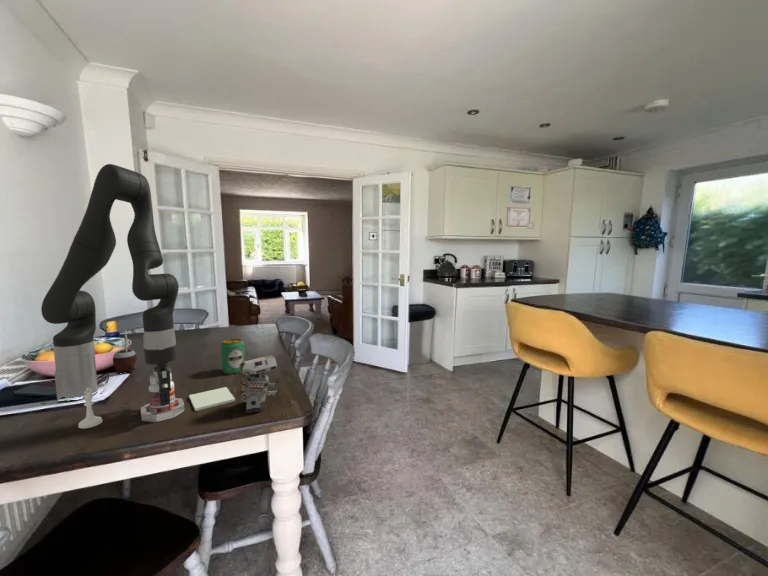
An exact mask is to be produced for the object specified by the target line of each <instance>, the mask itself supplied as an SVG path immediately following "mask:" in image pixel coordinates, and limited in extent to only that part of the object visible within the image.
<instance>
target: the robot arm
mask: <svg viewBox="0 0 768 576" xmlns="http://www.w3.org/2000/svg"><path fill="white" fill-rule="evenodd" d="M115 201H121V202H125V203H129V204H130V205H131V207H132V210H133V213H134V217H133V221H132V222H131V223H132V224H131V226H130V227H129V230H128V232H127V237H126V238H127V239H126V243H127V247H128V251H129V254H130V257H131V261H132V284H131V289H132V290H131V291H132V293H133V295H134V296H135V298H137V299H138V300H139V301H142V302H143V301H146V302H147V301H154V300H155V301H156V300H159V301H158V303H157V305H155V306H152V307H150V308H147V309H146V310H144V311H143V312H142V325H143V326H142V327H143V336H142V337H143V339H142V340H143V341H142V342H143V343H142V344H143V352H144V353H143V355H144V356H143V357H144V362H145V364H146V365H150V366H151V365H154V367H152V373H153V374H154V376H155V378H156V385H157V386H159V393H160V404H161V406H164V405H169V404H170V391H171V386H170V383H171V381H172V380H171V376H170V373H171V374H172V371H171V370H172V369H171V366H170V364H168V363H171V362H173V361H175V360H176V359H177V346H176V345H177V343H176V341H177V340H176V332H175V328H174V327H175V326H174V310H175V305H176V301H177V297H178V295H179V286H180V285H179V282H178V280H177V279H178V278H176V277H175V276H174V275H173V274H171V273H156V274H155V273H154V274H153V273H152V274H151V273H150V274H149V270H154V269H157V268H159V267H160V266H162V265H163V263H164V258H163V255H162V251H161V248H160V244H159V242H158V239H157V238H158V237H157V234H156V229H155V221H154V212H153V210H154V209H153V203H152V202H153V201H152V193H151V185H150V183H149V180H148V179H147V178H146V176H145V175H143V174H142V173H139V172H137V171H134V170H132V169H128V168H126V167H123V166H119V165H116V164H113V163H112V164H111V163H108V164H105V165H102V167H101V168H100V169H99V171H98V173H97V175H96V177H95V179H94V183H93V187H92V191H91V194H90V197H89V201H88V204H87V207H86V209H85V213H84V215H83V218H82V220H81V222H80V225H79V227H78V229H77V231H76V234H74V237H73V239H72V242H71V244H70V247H69V249H68V252H67V255H66V257H65V260H64V261H63V264H62V266H61V268H60V270H59V272H58V274H57V276H56V278H55V279H54V281H53V283H52V285H51V286H50V288H49V290H48V291H47V292H46V295H45V297H44V298H43V300H42V302H41V309H40V312H41V316H42V318H43V319H44V320H45V321H46V322H48V323H49V324H52V325H53V324H55V325H60V324H66V323H67V324H66V326H65V327H64V328H63V329H62V330H61V331H59V332H58V333H56V334H55V335H54V336H53V337H52V345H53V346H52V347H53V355H54V365H55V370H54V380H55V393H56V400H57V399H60V398H62V397H65V398H74V397H81V396H84V395H86V394H87V393H84V392H85V391H86V388H89V389H91V391H90V393H91V394H92V393H94V392H96V391H97V390H98V389H99V388H98V387H99V385H98V376H97V364H96V354H95V353H96V352H95V339H94V335H95V332H96V328H97V326H96V324H97V323H96V322H97V320H96V319H97V318H96V317H97V316H96V311H97V310H96V303H95V301H94V298H93V296H92V295H91V294H90V293H89V292H88V291H85V290H81V289H82V287H83V286H84V285H85V284H86V283H87V282H88V281H90V280H91V279H92V278H94V276H96V275H97V274H98V273H99V272H101V270H103V269H104V268H105V267H106V266H107V264H108V263H109V261H110V259H111V257H112V256H113V253H114V250H115V248H116V245H117V240H116V239H117V237H116V234H115V231H114V228H113V225H112V222H111V211H112V208H113V205H114V203H115ZM158 378H159V381H158ZM164 384H167V388H162V385H164ZM98 391H99V390H98Z"/></svg>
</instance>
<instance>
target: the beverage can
mask: <svg viewBox="0 0 768 576" xmlns="http://www.w3.org/2000/svg"><path fill="white" fill-rule="evenodd" d="M220 346H221V349H220V350H221V370H222V372H223V373H224V374H225V373H226V374H225V375H234V374H233V373H236V374H239V373H238V372H240V373H242V372H241V370H240V366H239V364H241V363H242V362H244V361H246V360H245V342H244V341H243V339H242V338H237V337H236V338H234V337H233V338H228V339H225V340H222V343H221V345H220Z"/></svg>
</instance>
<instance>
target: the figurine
mask: <svg viewBox="0 0 768 576" xmlns="http://www.w3.org/2000/svg"><path fill="white" fill-rule="evenodd" d="M239 366H240V370H241V371H242V372H241V373H242V379H241V385H242V386H241V387H240V388H241V389H240V397H241V399H240V400H241V402H244V403H246V405H245V406H246V407H245V414H247V413H249V414H253V413H255V412H257V413H260V412H262V406H261V403H264V402H265V401H266V400H267V399H266V398H267V396H268V397H269V396H276V393H280V389H281V387H278V388H277V389H276V390H272V391H271V390H268V387H271V388H275V386H276V385H277V384H279V383H280V379H279V378H277V379H276V380H275V382H273V383H271V382H270V380H269V379H270V378H269V375H266V374H264V373H266V372H270V371H273V370H277V369H278V364H277V360H276V357H275V356H274V355H272V354H271V355H270V354H269V355H266V356H262V357H256V358H254V359H249V360H245V361H244V362H242V363H241V364H239Z"/></svg>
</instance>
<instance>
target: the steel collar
mask: <svg viewBox="0 0 768 576" xmlns="http://www.w3.org/2000/svg"><path fill="white" fill-rule="evenodd" d="M184 411H185V402H184V400H183V398H181V397H180V398H177V397H175V407H174V408H173V409H171V410H167V411H163V412H159V413H154V412H150V402H149V403H147V404H145V405H144V406H142V407H140V417H141V422H142V421H143V422H149V423H150V422H151V423H152V422H153V423H157V422H162V421H165V420H169V419H173V418H175V417H177V416H179V415H180V414H181V413H183V412H184Z"/></svg>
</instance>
